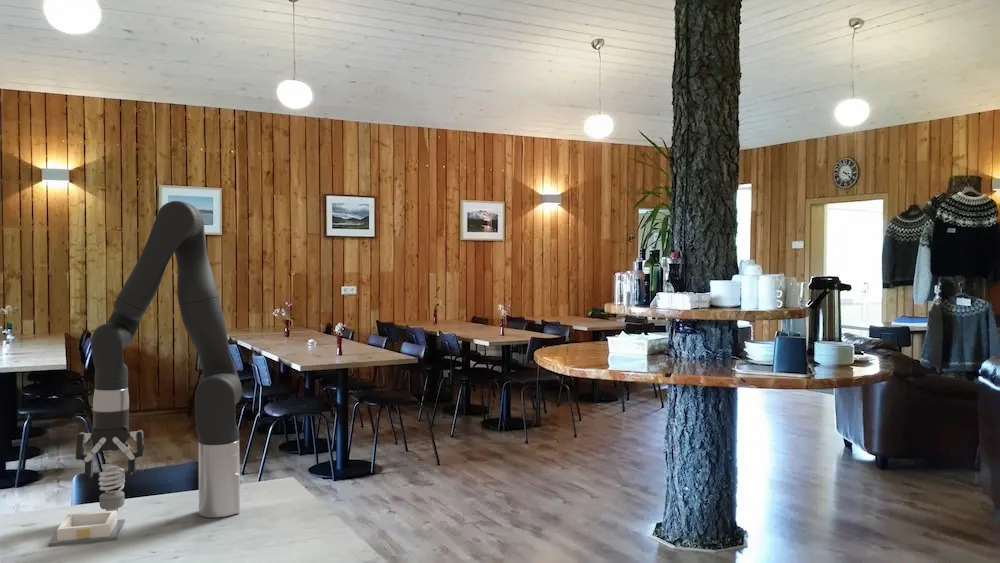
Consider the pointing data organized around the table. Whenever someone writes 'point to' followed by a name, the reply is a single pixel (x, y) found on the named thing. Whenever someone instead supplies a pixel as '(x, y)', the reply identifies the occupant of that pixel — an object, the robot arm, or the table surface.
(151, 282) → the robot arm
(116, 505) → the light bulb
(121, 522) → the slate board
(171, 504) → the table surface
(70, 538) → the cream square tray
